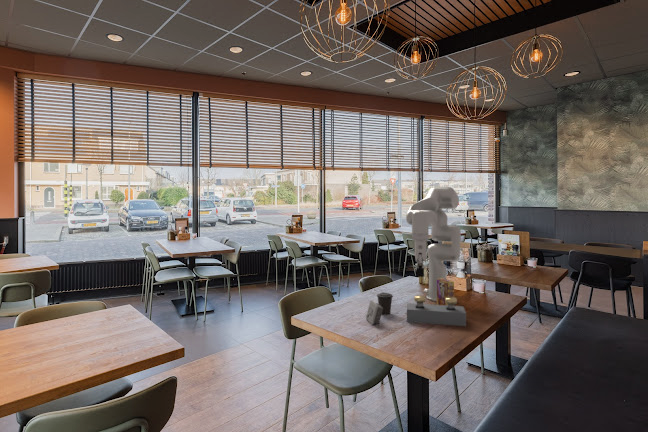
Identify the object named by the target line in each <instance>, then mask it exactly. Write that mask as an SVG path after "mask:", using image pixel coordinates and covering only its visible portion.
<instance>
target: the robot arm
mask: <svg viewBox="0 0 648 432" xmlns="http://www.w3.org/2000/svg"><path fill="white" fill-rule="evenodd" d="M459 201H460V199H459V196H458V193H457V192H456V190H455V189H454V188H453V187H450V186H434V187H431V188H429V189H428V191H427V192H426V193H425V196H424V198H423V199H420V200H419V201H417V202H415V203H413V204H411V206H410V207H409V208H408V210H407V213H406V217H405V219H406V222H407V224H408V225H411V241H413V242H414V258H415V262H416V277H418V278H423V277H425V271H424V270H425V268H424V263H426V262H427V261H428V288H424V289H423V293H425V294H426V295H425V299H427V300H428V301H433V302H437V279H439V278H444V279H447V266H446V264H444V262H458V261H459V260H460V257H461V256H460V255H461V242H462V241H461V239H462V234H461V228H460V227H459V226H458V225H453V224H448V215H447V213H446V212H445V209H451V210H453V209H456V208H458V207H459V203H460V202H459ZM443 209H444V210H443ZM429 226H431V231H430V233H431V235H430V237H431V239H432V240H433V241H434V242H445V243H431V244H429V245H428V246H427V242H428V241H429ZM450 243H451V244H450ZM427 257H428V260H427Z"/></svg>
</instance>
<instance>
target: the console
mask: <svg viewBox="0 0 648 432" xmlns="http://www.w3.org/2000/svg"><path fill="white" fill-rule="evenodd" d="M406 322H407V323H417V324H418V323H419V324H427V323H429V325H431V324H432V325H441V324H442V325H444V326H457V327H467V312H466V309H465V307H464V306H461V305H454V310H448V306H446V305H437V304H427V303H423V308H417V303H408V302H407V303H406Z"/></svg>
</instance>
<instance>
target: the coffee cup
mask: <svg viewBox="0 0 648 432" xmlns="http://www.w3.org/2000/svg"><path fill="white" fill-rule="evenodd" d="M376 297H377V301H378V304H379V305H380V306H381V307H382V308H383V311H382V314H381V316H388V315H391V312H392V301H393V297H394V296H393V294H391V293H389V292H380V293H377V294H376Z"/></svg>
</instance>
